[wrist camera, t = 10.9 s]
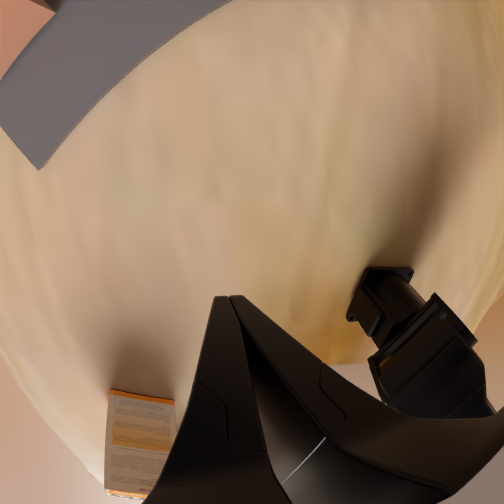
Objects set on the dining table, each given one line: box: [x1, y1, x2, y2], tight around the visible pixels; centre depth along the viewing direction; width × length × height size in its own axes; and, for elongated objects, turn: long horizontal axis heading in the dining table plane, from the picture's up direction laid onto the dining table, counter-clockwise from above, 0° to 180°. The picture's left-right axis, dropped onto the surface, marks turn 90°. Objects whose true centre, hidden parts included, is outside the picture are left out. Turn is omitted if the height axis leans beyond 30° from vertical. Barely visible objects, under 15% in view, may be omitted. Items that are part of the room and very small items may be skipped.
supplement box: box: [104, 390, 177, 501], centre depth 25 cm, size 8×5×13 cm, turn 65°
